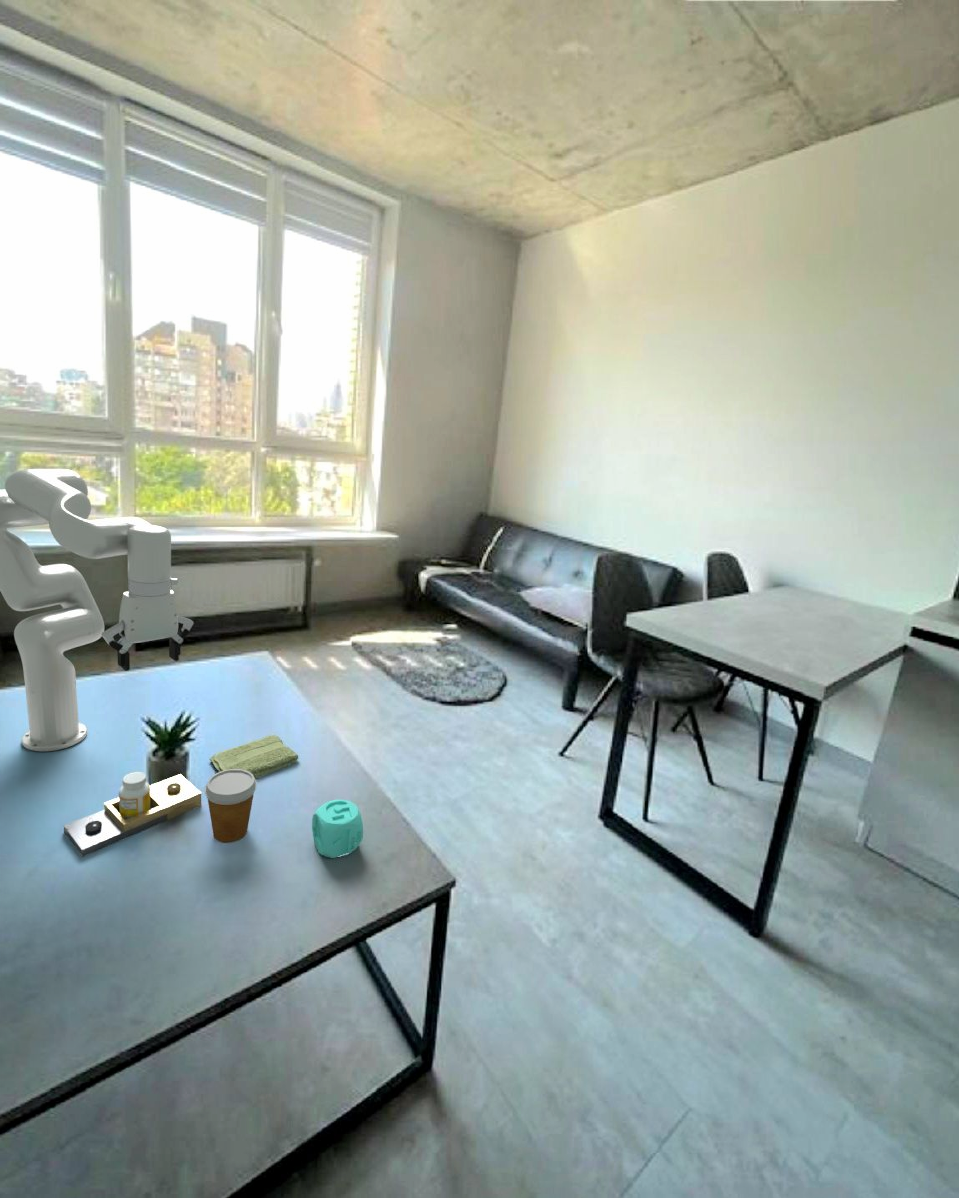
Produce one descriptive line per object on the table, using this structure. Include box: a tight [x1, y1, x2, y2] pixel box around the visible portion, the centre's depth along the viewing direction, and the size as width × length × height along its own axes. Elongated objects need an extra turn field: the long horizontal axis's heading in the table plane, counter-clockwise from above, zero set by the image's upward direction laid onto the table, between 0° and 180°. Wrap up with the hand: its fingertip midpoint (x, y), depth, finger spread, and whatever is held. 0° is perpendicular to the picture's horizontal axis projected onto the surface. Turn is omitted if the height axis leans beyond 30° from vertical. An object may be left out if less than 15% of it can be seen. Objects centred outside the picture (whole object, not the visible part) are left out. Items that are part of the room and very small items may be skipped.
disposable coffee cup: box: [204, 769, 258, 844], centre depth 113 cm, size 10×10×12 cm
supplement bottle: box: [118, 771, 151, 820], centre depth 114 cm, size 5×5×10 cm
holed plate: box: [63, 773, 202, 858], centre depth 115 cm, size 9×22×4 cm, turn 143°
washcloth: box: [209, 734, 299, 779], centre depth 138 cm, size 13×18×3 cm
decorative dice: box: [311, 798, 364, 859], centre depth 115 cm, size 8×8×8 cm
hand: (150, 663), depth 120 cm, fingers open, 9 cm apart
